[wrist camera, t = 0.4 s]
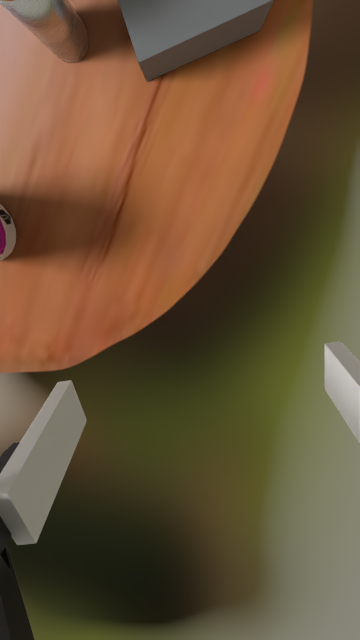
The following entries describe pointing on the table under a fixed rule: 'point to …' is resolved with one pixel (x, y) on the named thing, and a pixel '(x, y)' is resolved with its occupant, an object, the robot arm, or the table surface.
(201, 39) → the block
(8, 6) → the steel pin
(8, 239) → the supplement can
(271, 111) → the table surface
